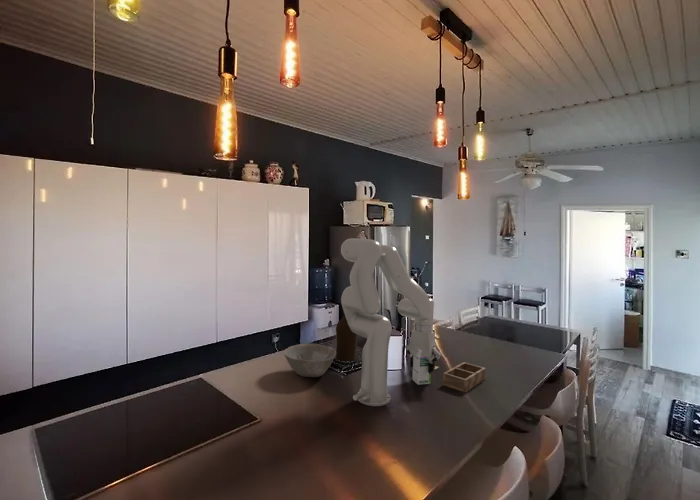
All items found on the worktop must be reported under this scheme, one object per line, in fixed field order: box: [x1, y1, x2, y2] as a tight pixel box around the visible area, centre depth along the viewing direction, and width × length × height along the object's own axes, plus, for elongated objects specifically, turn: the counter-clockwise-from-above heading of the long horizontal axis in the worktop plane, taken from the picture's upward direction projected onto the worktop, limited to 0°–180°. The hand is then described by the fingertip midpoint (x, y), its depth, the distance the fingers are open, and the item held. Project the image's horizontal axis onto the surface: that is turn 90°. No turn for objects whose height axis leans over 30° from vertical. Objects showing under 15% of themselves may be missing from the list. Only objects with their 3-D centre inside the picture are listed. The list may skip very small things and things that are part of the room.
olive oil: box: [335, 312, 359, 361], centre depth 180 cm, size 11×11×25 cm
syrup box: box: [412, 349, 432, 386], centre depth 158 cm, size 6×6×14 cm
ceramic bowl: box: [283, 343, 336, 378], centre depth 162 cm, size 22×23×10 cm
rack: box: [442, 361, 487, 393], centre depth 159 cm, size 19×10×5 cm, turn 138°
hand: (421, 368), depth 158 cm, fingers closed on syrup box, 7 cm apart
